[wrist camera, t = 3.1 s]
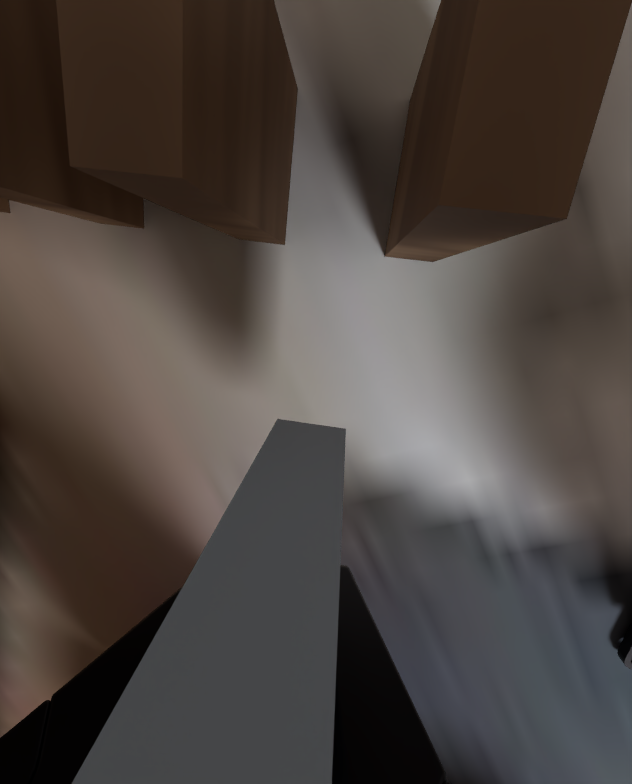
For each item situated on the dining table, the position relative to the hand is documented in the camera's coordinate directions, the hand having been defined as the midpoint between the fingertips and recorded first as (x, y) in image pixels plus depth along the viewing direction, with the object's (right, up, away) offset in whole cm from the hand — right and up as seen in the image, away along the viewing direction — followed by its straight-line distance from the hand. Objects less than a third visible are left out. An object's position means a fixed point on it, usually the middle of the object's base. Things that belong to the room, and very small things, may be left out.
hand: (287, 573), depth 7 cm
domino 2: (+4, +10, +4) cm, 12 cm away
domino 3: (-1, +11, +4) cm, 12 cm away
